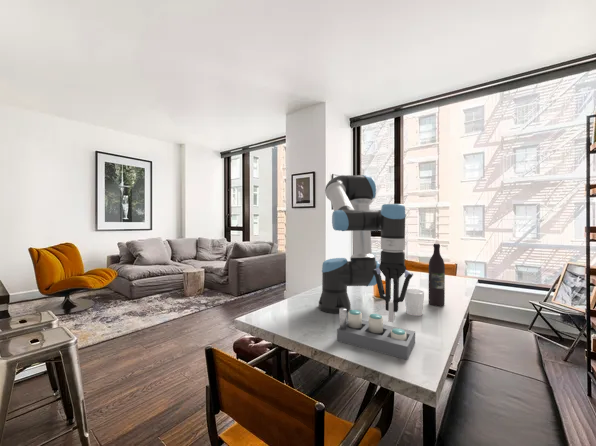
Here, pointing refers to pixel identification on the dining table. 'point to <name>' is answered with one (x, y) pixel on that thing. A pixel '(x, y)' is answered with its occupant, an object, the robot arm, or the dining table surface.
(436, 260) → the wine bottle
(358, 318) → the knob
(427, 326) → the dining table surface
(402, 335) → the knob
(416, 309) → the white cup
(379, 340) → the plate
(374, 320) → the knob middle
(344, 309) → the grey metal rod
